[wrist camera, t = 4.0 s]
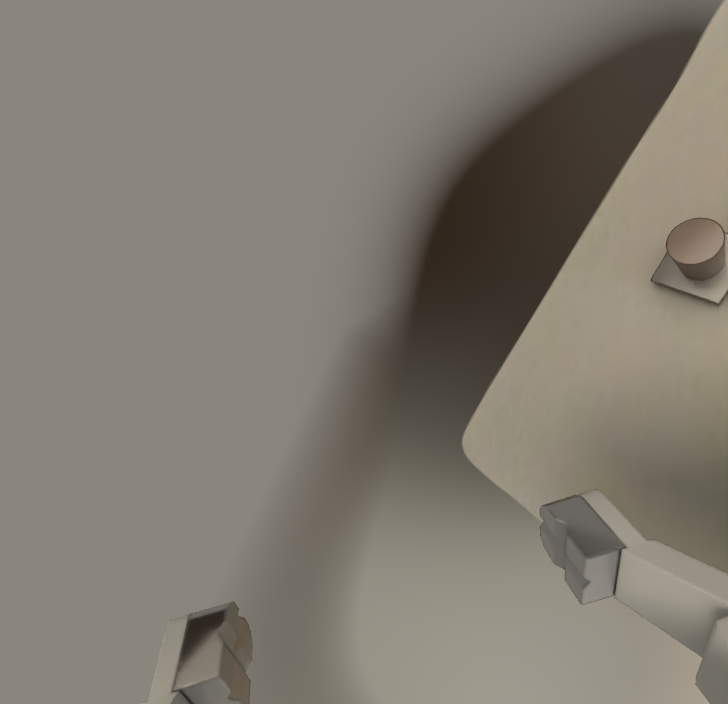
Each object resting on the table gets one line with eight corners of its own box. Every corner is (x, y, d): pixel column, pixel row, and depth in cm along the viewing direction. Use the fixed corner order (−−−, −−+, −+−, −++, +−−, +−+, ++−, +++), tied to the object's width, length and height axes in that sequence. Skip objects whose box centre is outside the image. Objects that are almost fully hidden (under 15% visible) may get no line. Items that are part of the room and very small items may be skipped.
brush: (687, 229, 35) (673, 189, 25) (758, 247, 32) (772, 211, 23) (654, 283, 37) (629, 266, 27) (719, 305, 34) (717, 295, 24)
